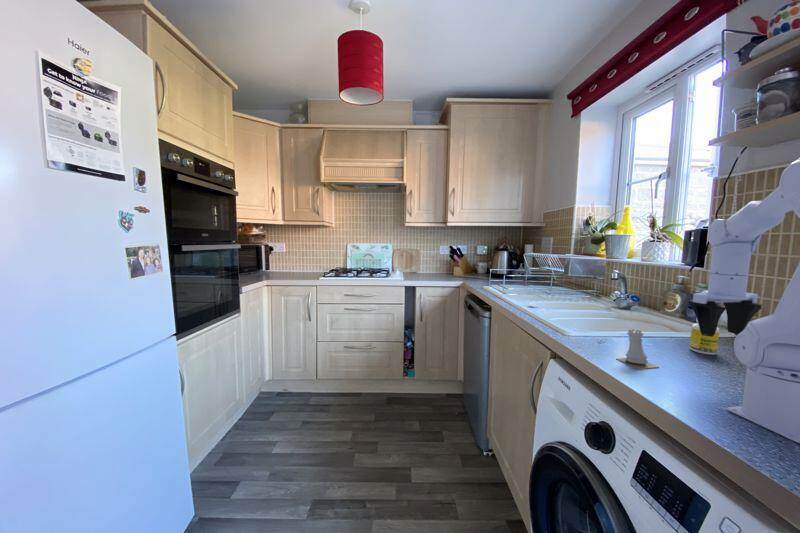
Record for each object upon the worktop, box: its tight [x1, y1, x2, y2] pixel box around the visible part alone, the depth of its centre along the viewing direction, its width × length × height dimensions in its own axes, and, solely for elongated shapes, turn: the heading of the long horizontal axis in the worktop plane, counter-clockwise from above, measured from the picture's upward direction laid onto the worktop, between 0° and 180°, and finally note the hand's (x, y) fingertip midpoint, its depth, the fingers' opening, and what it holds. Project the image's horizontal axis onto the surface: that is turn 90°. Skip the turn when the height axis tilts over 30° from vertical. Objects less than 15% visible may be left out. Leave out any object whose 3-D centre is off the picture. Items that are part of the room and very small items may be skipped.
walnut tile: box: [615, 357, 660, 370], centre depth 74 cm, size 6×6×1 cm
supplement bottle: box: [688, 318, 720, 356], centre depth 82 cm, size 5×5×10 cm
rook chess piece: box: [625, 328, 649, 364], centre depth 74 cm, size 4×4×8 cm
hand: (721, 333), depth 66 cm, fingers open, 7 cm apart
